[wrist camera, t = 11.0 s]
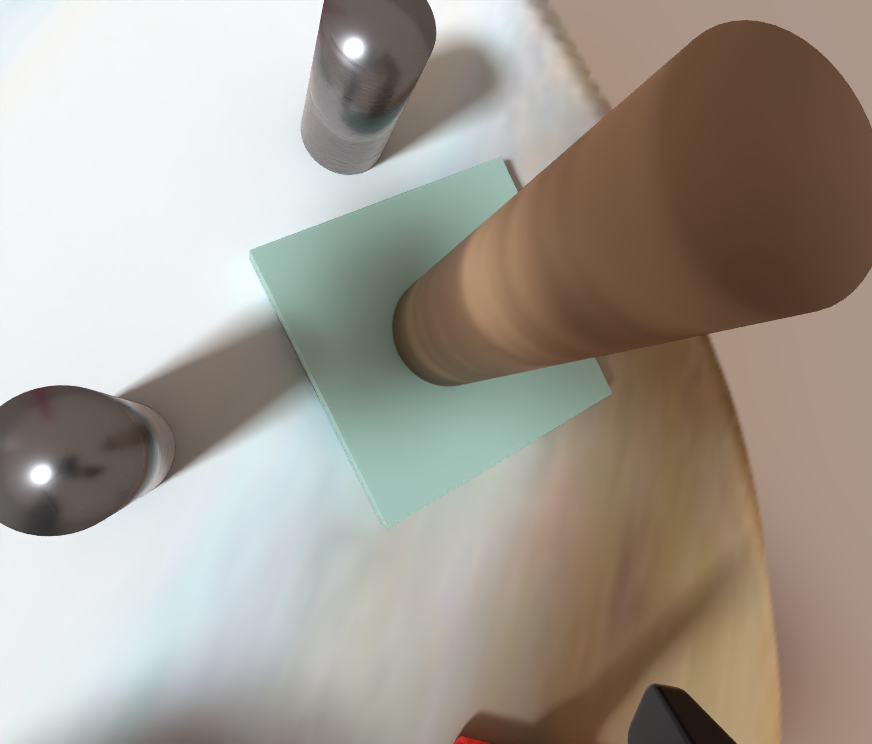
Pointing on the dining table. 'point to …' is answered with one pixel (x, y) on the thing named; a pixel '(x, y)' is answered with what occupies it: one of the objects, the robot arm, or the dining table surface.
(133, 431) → the post farther from pad
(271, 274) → the teal pad
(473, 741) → the tow hook
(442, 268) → the walnut dowel
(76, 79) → the dining table surface
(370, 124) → the post near pad
